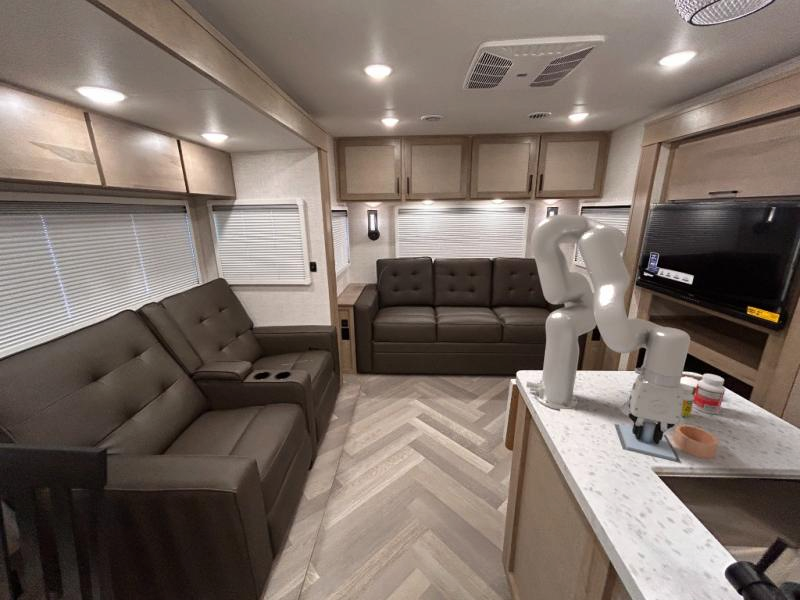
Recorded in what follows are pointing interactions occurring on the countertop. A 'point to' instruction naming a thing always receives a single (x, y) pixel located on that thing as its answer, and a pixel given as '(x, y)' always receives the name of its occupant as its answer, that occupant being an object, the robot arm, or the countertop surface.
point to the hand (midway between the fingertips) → (645, 438)
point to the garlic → (689, 381)
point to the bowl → (695, 441)
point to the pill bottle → (709, 394)
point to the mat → (641, 452)
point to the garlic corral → (694, 378)
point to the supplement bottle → (687, 400)
